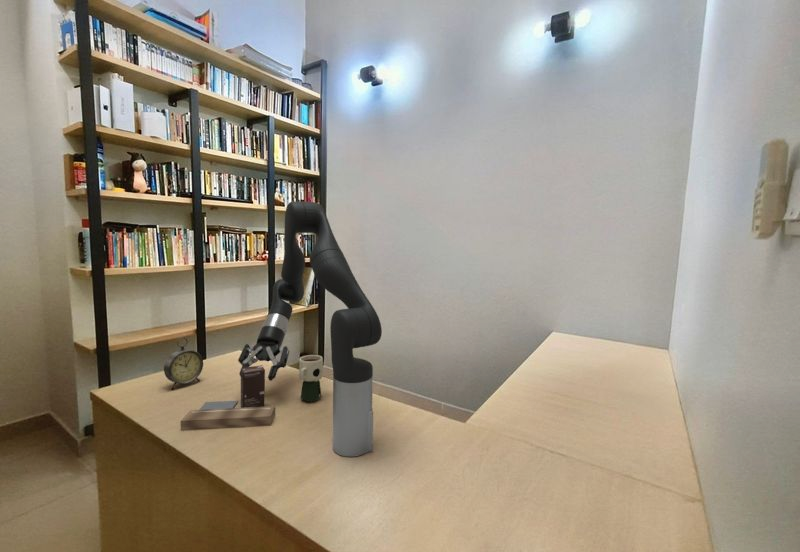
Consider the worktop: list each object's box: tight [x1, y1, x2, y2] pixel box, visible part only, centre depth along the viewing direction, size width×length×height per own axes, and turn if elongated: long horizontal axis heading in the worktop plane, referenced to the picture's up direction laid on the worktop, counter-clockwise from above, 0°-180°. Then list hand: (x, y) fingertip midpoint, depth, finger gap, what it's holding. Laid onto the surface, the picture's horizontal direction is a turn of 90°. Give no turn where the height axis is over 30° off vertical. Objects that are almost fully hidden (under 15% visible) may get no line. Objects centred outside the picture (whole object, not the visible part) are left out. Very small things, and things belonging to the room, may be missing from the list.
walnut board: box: [180, 405, 276, 431], centre depth 96 cm, size 22×6×3 cm, turn 99°
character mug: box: [298, 354, 324, 402], centre depth 111 cm, size 11×7×13 cm, turn 163°
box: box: [240, 364, 266, 408], centre depth 103 cm, size 6×4×12 cm
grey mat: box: [198, 400, 239, 410], centre depth 103 cm, size 9×9×1 cm
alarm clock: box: [163, 336, 204, 390], centre depth 119 cm, size 11×5×16 cm, turn 148°
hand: (256, 378), depth 105 cm, fingers open, 8 cm apart
